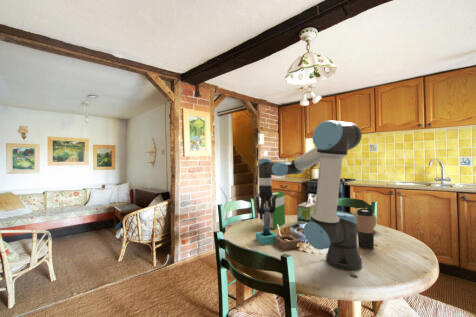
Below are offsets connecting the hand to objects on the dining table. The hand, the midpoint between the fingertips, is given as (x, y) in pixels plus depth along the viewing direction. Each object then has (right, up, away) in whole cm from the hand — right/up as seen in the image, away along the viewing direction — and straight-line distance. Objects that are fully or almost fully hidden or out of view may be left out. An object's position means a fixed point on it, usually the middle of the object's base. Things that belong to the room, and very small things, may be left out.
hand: (266, 224), depth 131 cm
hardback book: (+11, -11, +32) cm, 35 cm away
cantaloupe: (+67, -9, +17) cm, 70 cm away
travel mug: (+53, -10, -10) cm, 55 cm away
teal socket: (0, -11, 0) cm, 11 cm away
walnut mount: (+10, -10, -8) cm, 17 cm away
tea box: (+35, -10, +35) cm, 50 cm away
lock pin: (0, -6, 0) cm, 6 cm away
